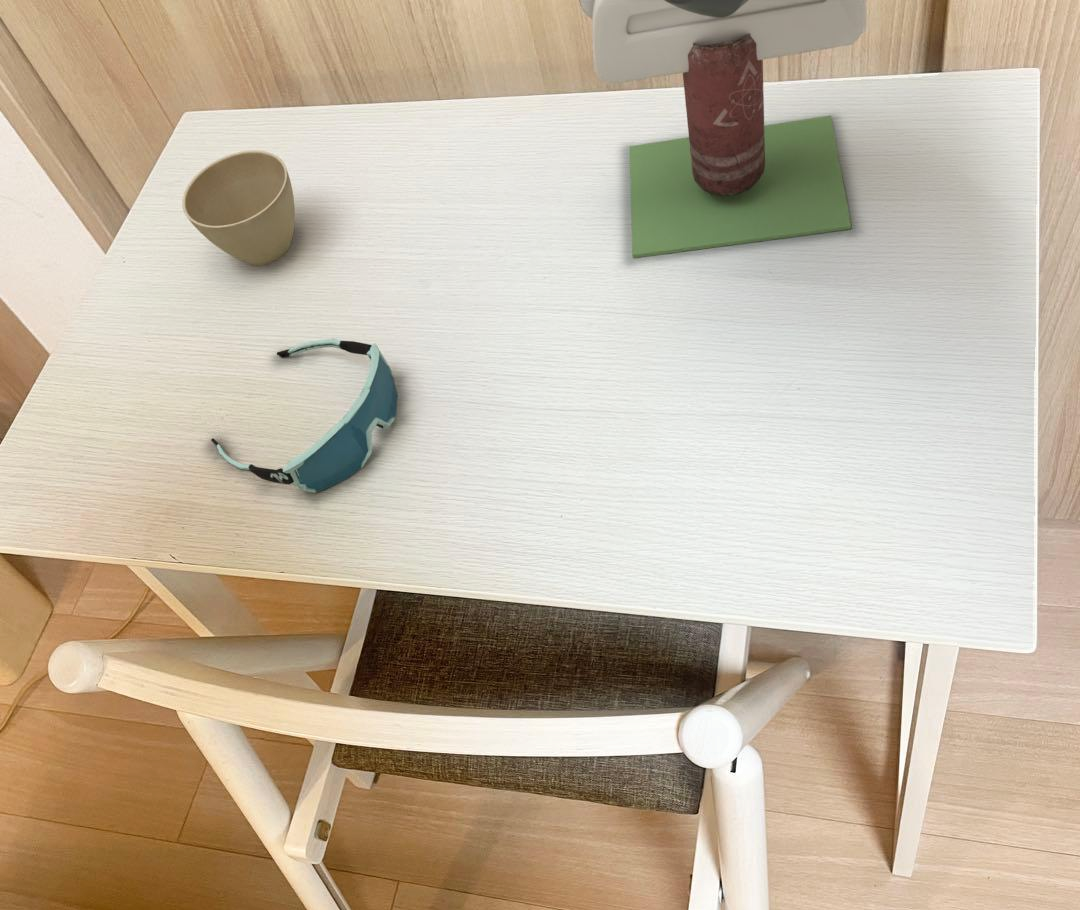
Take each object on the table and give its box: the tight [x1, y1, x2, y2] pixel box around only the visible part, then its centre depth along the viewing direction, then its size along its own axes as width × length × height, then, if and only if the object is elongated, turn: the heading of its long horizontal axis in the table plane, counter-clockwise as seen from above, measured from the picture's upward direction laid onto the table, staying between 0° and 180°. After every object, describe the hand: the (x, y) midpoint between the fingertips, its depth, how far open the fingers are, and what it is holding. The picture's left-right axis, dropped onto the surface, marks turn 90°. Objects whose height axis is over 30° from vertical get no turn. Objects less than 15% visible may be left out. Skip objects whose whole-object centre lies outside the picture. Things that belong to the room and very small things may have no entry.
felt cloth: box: [629, 115, 852, 259], centre depth 90 cm, size 18×14×1 cm
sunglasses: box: [210, 338, 398, 494], centre depth 84 cm, size 14×15×5 cm
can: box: [682, 34, 765, 196], centre depth 83 cm, size 6×6×14 cm
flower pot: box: [181, 149, 296, 266], centre depth 96 cm, size 10×10×7 cm
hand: (729, 105), depth 83 cm, fingers closed, pressing on can
